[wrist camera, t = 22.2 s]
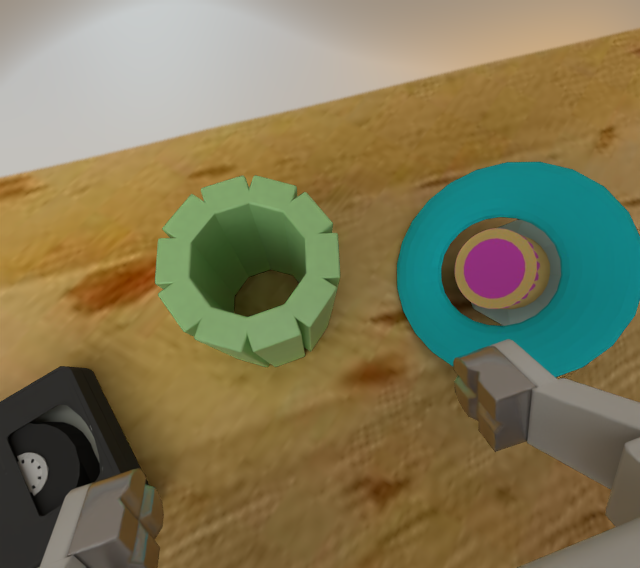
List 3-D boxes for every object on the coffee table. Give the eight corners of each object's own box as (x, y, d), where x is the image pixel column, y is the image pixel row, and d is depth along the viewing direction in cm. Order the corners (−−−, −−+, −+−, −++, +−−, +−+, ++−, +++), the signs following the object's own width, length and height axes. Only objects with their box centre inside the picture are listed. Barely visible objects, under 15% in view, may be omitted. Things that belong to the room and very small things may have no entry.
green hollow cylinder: (282, 229, 22) (266, 144, 15) (354, 317, 21) (378, 274, 13) (188, 295, 21) (119, 240, 14) (259, 392, 20) (225, 393, 12)
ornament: (643, 400, 17) (671, 169, 17) (627, 419, 14) (661, 137, 14) (424, 349, 25) (441, 191, 24) (383, 354, 21) (402, 173, 21)
